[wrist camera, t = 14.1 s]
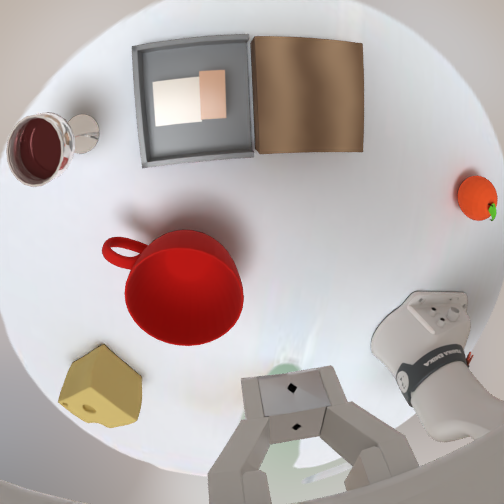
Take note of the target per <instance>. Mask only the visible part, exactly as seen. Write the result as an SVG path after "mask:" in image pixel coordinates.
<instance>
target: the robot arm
mask: <svg viewBox="0 0 504 504" xmlns="http://www.w3.org/2000/svg"><path fill="white" fill-rule="evenodd" d="M467 304H468V299H467V295H466V294H465V293H463V292H414V293H412V294H411V295H410V296H409V297H408V298H407V300H406V301H405V302H404V303H403V305H402V306H400V307H399V308H398V309H396V310H395V311H394V312H392V313H391V314H390V315H389V316H388V317H386V318H385V319H384V321H383V322H382V323H381V324H380V325H379V327H378V328H377V330H376V331H375V333H374V335H373V338H372V341H371V351H372V353H373V355H374V356H375V357H376V358H377V359H379V360H380V361H381V362H382V363H383V364H384V365H385V366H386V367H387V368H388V370H389V371H390V372H391V373H392V374H393V376H394V377H395V379H396V381H397V384H398V386H399V388H400V390H401V392H402V394H403V396H404V397H405V399H406V401H407V402H408V404H409V406H411V407H413V408H414V410H415V412H416V414H417V416H418V417H419V419H420V421H421V423H422V425H423V427H424V429H425V431H426V432H427V434H428V436H429V437H431V438H432V439H433V440H435V441H438V442H450V441H455V440H459V439H463V438H466V437H472V438H473V439H474V441H473V442H471V443H469V444H467V445H465V446H463V447H461V448H459V449H457V450H455V451H453V452H451V453H449V454H447V455H445V456H443V457H441V458H438V459H436V460H434V461H432V462H429V463H427V464H425V465H422V466H420V467H419V464H418V462H417V460H416V458H415V456H414V453H413V451H412V449H411V447H410V445H409V443H408V441H407V439H406V437H405V435H403V434H402V433H400V432H398V431H397V430H395V429H394V428H392V427H391V426H389V425H387V424H386V423H384V422H383V421H381V420H380V419H378V418H376V417H375V416H373V415H372V414H370V413H369V412H367V411H366V410H364V409H363V408H361V407H360V406H358V405H357V404H355V403H354V402H348V401H347V399H346V397H345V394H344V392H343V389H342V387H341V385H340V382H339V380H338V377H337V375H336V373H335V370H334V368H333V367H332V366H325V367H320V368H312V369H307V370H301V371H295V372H289V373H286V374H276V375H267V376H257V377H248V378H241V384H242V393H243V402H244V411H245V418H246V419H245V420H241V422H240V423H239V425H238V427H237V428H236V430H235V431H234V433H233V435H232V436H231V438H230V440H229V441H228V443H227V444H226V446H225V447H224V449H223V451H222V452H221V454H220V455H219V457H218V458H217V460H216V462H215V463H214V465H213V466H212V468H211V469H210V471H209V472H208V488H209V504H272V502H271V497H270V492H269V487H268V482H267V476H266V473H265V472H262V471H261V470H259V468H260V466H261V464H262V462H263V460H264V457H265V455H266V453H267V451H268V449H269V447H270V444H276V443H282V442H287V441H292V440H299V439H305V438H311V437H317V436H320V438H321V439H322V440H323V441H325V442H326V443H327V444H328V445H329V446H330V447H331V448H332V449H333V450H335V451H336V452H337V453H338V454H339V455H340V456H341V457H343V458H344V459H345V460H346V461H347V462H348V463H350V464H351V465H352V466H353V467H352V470H351V471H350V473H349V475H348V476H347V478H346V480H345V481H344V483H345V486H346V490H347V491H346V492H343V493H339V494H335V495H331V496H326V497H322V498H317V499H313V500H308V501H303V502H298V503H292V504H504V401H503V400H500V399H498V398H496V397H495V396H493V395H492V394H490V393H489V392H488V391H487V390H486V389H485V388H484V387H483V386H482V385H481V384H480V382H479V381H478V380H477V379H476V377H475V376H474V375H473V374H472V372H471V371H470V370H469V363H470V361H471V359H472V357H473V355H472V356H471V358H470V355H471V352H469V354H468V356H467V358H466V357H465V354H464V348H465V345H466V342H467V339H468V336H469V333H470V328H471V321H470V318H469V316H468V314H467V313H466V310H467ZM469 358H470V359H469ZM0 504H89V503H84V502H78V501H74V500H69V499H64V498H60V497H56V496H52V495H48V494H44V493H41V492H36V491H34V490H30V489H27V488H23V487H20V486H17V485H14V484H12V483H9V482H5V481H3V480H0Z"/></svg>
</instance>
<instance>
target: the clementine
mask: <svg viewBox="0 0 504 504" xmlns="http://www.w3.org/2000/svg"><path fill="white" fill-rule="evenodd" d="M458 203H459V206H460V208H461V210H462V212H463V213H464V214H465V215H466V216H467V217H469V218H470V219H473V220H477V221H481V220H485V219H487V218H489V217H490V216H491V217H492V219H491V221H493V220H494V219H495V217H496V206H497V193H496V190H495V188H494V186H493V185H492V183H491V182H490V181H489V180H487V179H486V178H484V177H481V176H471V177H469V178H467V179H466V180H464V181H463V182H462V184H461V185H460V187H459V190H458Z"/></svg>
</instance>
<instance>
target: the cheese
mask: <svg viewBox="0 0 504 504" xmlns="http://www.w3.org/2000/svg"><path fill="white" fill-rule="evenodd" d="M58 403H60V404H61V405H62V406H63V407H65V408H66V409H67V410H68V411H70V412H71V413H72V414H74V415H75V416H77V417H78V418H80V419H81V420H83V421H85V422H87V423H93V422H94V423H100V424H102V425H104V426H106V427H108V428H114V427H118V426H124V425H128V424H131V423H134V422H136V421H137V420H138V416H139V413H140V409H141V403H142V377H141V376H140V375H139V374H137V373H136V372H135V371H134V370H133V369H132V368H130V367H129V366H128V365H127V364H126V363H125V362H123V361H122V360H121V359H120V358H119V357H117V356H116V355H115V354H114V353H113V352H111V351H110V350H109V349H108V348H107V347H106V346H105V345H104V344H103V345H101V346H100V347H98V348H96V349H94V350H93V351H91V352H90V353H88V354H87V355H85V356H84V357H82V358H80V359H78V360H76V361H75V362H73V363H72V365H71V367H70V369H69V371H68V373H67V375H66V378H65V381H64V384H63V387H62V390H61V392H60V396H59V400H58Z"/></svg>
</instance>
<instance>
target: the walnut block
mask: <svg viewBox="0 0 504 504" xmlns="http://www.w3.org/2000/svg"><path fill="white" fill-rule="evenodd" d="M250 45H251V66H252V88H253V111H254V134H255V149H256V150H257V151H258V153H259V154H272V153H299V152H363V137H364V68H363V44H362V43H355V42H347V41H338V40H329V39H317V38H303V37H277V36H255V37H254V38H253V40H252V41H251V43H250Z"/></svg>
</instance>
